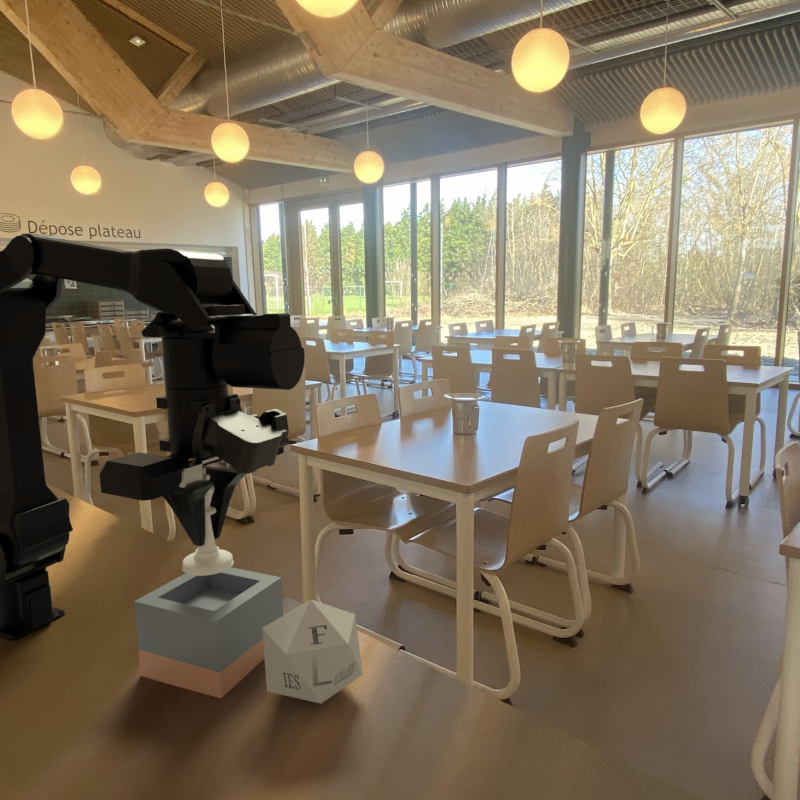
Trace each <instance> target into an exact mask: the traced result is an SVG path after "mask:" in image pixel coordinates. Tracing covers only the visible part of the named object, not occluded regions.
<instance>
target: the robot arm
mask: <svg viewBox="0 0 800 800" xmlns="http://www.w3.org/2000/svg"><path fill="white" fill-rule="evenodd" d="M30 275H35V276H34V277H33V278H32V279H29V278H28V277H29V276H30ZM63 280H67V281H72V282H77V283H83V284H88V285H92V286H98V287H103V288H107V289H108V288H109V289H112V290H113V289H114V290H117V291H122V292H123V293H127V294H129V295H130V296H131V297H133V299H135V300H136V302H138V303H140V304H143V305H145V306H148V307H150V308H152V309H154V310H156V311H159V312H157V313H156V315H155V317H154V319H152V321H150V322H149V323H148V324H147V325H146V326H145V327H144V328H143V329H142V330H141V336H142V337H143V338H157V339H158V338H161V348H162V349H161V351H162V362H163V363H162V366H163V375H164V376H163V377H164V378H163V379H164V394H165V395H163V396H162V395H161V396H157V397H156V398H155V400H156V409H161V410H162V409H163V410H166V419H167V421H166V422H167V435H168V437H166V438H163V439H160V440H159V451H160V452H161V451H162V452H168V453H170V455H167V456H166V455H160V454H159V455H158V454H151V453H146V452H145V453H144V452H138V451H137V452H135V453H131V454H127V455H124V456H120V457H115V458H112V459H109V460H106V461H105V463H104V464H103V466H102V467H101V468H100V471H99V482H100V493H102V494H106V495H112V496H115V497H116V496H117V497H122V498H127V499H132V500H136V501H137V500H138V501H141V502H143V501H153V500H155V499H159V498H161V497H162V498H163V499H164V500H165V502H166V503H167V504H168V505H169V507H170V509H171V510H172V511H173V513H174V514H175V516H176V518H177V519H178V521H179V523H180V525H181V526H182V527H183V529H184V531H185V532H186V534H187V536H188V537H189V539H190V541H191V542H192V544H193V545H194V546H197V547H198V546H203V545H204V542H205V495H206V493H207V492H208V490H209V489H210V488H211V486H212V485H213V486H214V492H213V495H212V499H211V503H210V506H211V507H215V509H216V512H215V513H214V514H212V515H210V518H211V524H212V530H213V535H214V540H217V539H219V538H220V537H221V534H222V531H223V528H224V523H225V520H226V516H227V513H228V510H229V505H230V502H231V499H232V497H233V493H234V490H235V487H236V486H237V484H238V483H239V482H240V481H241V480H242V479H243V478H245V476H247V474H248V475H249V474H254V473H255V472H256V471H257V470H259V469H261V468H264V467H271V466H274V465H275V463H276V458H277V456H280V455H282V454H285V446H288V445H289V443H290V439H289V433H290V432H289V430H290V429H289V422H288V416H287V413H286V412H283V411H282V410H280V409H278V408H274V409H269V410H265V411H263V412H262V413H261V415H260V416H259V414H256V413H254V414H247V413H245V412H243V410H242V405H241V404H242V403H241V399H240V398H239V394H238V393H229V386H230V387H231V388H244V389H262V390H263V389H265V390H279V391H281V390H283V391H284V390H285V391H290V390H293V388H295V387H296V386H297V385H298V383H299V381H300V380H301V379H302V375H303V372H304V367H305V348H304V347H303V346H302V342H301V339H300V337H299V334H298V332H297V331H296V329H295V328H293V327H292V326H291V323H292V322H291V315H290V313H287V312H283V313H282V312H277V313H274V312H273V313H264V314H261V315H260V314H257V312H256V311H255V310H254V309H253V307H252V305H251V304H250V302H249V301H248V299H247V298H246V297H245V295H244V293H243V292H242V291H241V290H240V288H239V286H238V285H237V283H236V281H235V280H234V279H233V274H232V272H231V269H230V267H229V265H228V264H227V262H226V259H225V258H224V257H223V256H221V255H220V254H218V253H215V252H213V251H212V252H211V251H201V250H192V249H191V250H189V249H177V248H176V249H175V248H154V249H139V250H135V251H134V250H133V251H132V250H126V249H121V248H115V247H109V246H104V245H103V246H102V245H97V244H92V243H91V244H90V243H85V242H80V241H79V242H78V241H74V240H73V241H72V240H68V239H65V238H63V237H61V236H58V235H50V234H37V233H22V234H20V235H15V236H14V237H13V238H12V239H11V240H10V241H9V242H8V244H7V245H6V246H5V247H4V248H3V249H2V250H0V636H1V637H4V638H7V639H9V640H12V641H13V640H16V639H19V638H22V637H23V636H27V635H28V634H30V633H32V632H34V631H36V630H38V629H41V628H42V627H45V626H47V625H48V624H51V623H52V622H54V621H56V620H58V619H60V618H62V617H63V616H65V615H66V611H65V610H64V609H61V608H58V607H55V606H53V598H52V597H53V596H52V590H51V589H52V587H51V585H50V579H49V578H50V576H49V571H48V569H47V568H48V567H51V566H53V565H55V564H57V563H61V562H63V561H64V557H65V552H66V548H67V545H68V543H69V541H70V532H72V531H74V528H73V526H72V523H71V520H70V519H71V518H70V502H69V501H68V499H67V498H65V497H61V498H59V497H58V496H57V494H55V493H54V492H53V491H52V489H51V488H50V487H49V486H48V485H47V479H46V472H45V471H46V470H45V464H44V461H45V460H44V451H43V441H42V435H41V424H40V416H39V405H38V395H37V386H36V378H35V377H36V376H35V370H34V369H35V368H34V357H35V355H36V354H37V351H39V350H38V349H39V347H40V346H41V344H42V341H43V340H44V337H46V331H47V330H46V329H47V322H46V321H47V311H49V309H50V308H51V307H52V306H53V305H54V304H55V303H56V302H57V300H59V299H60V298H61V297H62V296H61V294H62V287H63ZM213 327H214V328H213ZM190 459H191V460H190ZM202 467H204V468H206V474H207V475H210V480H203V472H202Z"/></svg>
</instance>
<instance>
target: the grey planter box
mask: <svg viewBox="0 0 800 800" xmlns="http://www.w3.org/2000/svg"><path fill="white" fill-rule="evenodd" d="M282 589H283V588H282V577H280V576H277V575H271V574H266V573H261V572H257V571H252V570H246V569H242V568H237V567H233V566H232V567H230V568H229V569H228V570H226V571H223V572H221V573H217V574H213V575H207V576H194V575H189V574H186V573H185V572H184V574H182V575H180V576H178V577H176V578H174V579H172V580H171V581H169V582H167V583H165V584H163V585H162V586H159V587H158V588H156V589H154V590H152V591H151V592H148V593H147V594H145V595H144V596H143V595H142V597H140V598H137V599H135V600H134V613H135V623H136V634H137V647H138V656H139V657H138V659H139V669H140V676H141V677H144V678H147V679H150V680H153V681H157V682H161V683H165V684H167V685H171V686H174V687H179V688H183V689H185V690H189V691H192V692H193V691H194V692H197V693H199V694H204V695H207V696H210V697H211V696H212V697H215V698H218V699H222V698H223V697H224V696H225V695H226V694H228V693H229V692H230V691H231V690H232V689H233V688H234V687H235V686H236V685H237V684H239V683H240V682H241V681H242V680H243V679H244V678H245V677H246V676H247V675H248V674H249V673H251V671H253V670H254V669H255V668H256V667H257V666H258V665H259V664H260V663H261V662H262V661H264V660H265V658H264V644H263V631H262V628H263V627H265V626H266V625H268V624H270V623H271V622H273V621H275V620H277V619H278V618H280V617H282V616H283V615H284V605H283V590H282Z"/></svg>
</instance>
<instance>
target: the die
mask: <svg viewBox="0 0 800 800" xmlns="http://www.w3.org/2000/svg"><path fill="white" fill-rule="evenodd" d="M357 627H358V626H357V618H356V614H355V613H352V612H351V611H346V610H343V609H341V608H337V607H334V606H332V605H329V604H326V603H323V602H320V601H317V600H313V599H309V600H307V601H305V602H304V603H302V604H300V605H298V606H297V607H295V608H294V609H292V610H290V611H288V612H287V613H285V614H283V616H282V617H280V618H278V619H277V620H275V621H273V622H271V623H270V624H268V625H266V626H265V627H263V628H262V631H263V644H264V658H265V659H264V667H265V668H264V671H265V682H266V683H265V684H266V692H268V693H272V694H277V695H278V694H279V695H282V696H286V697H291V698H293V699H294V698H295V699H298V700H299V699H300V700H304V701H309V702H312V703H316V704H320V705H321V704H323V703H325V701H327V700H328V699H330V698H331V697H333V696H334V695H335V694H337V693H338V692H340V691H342V690H343V689H345V687H347V686H349V685H350V684H352V683H353V682H355V680H357V679H358V678H361V676H363V675H364V674H363V667H362V658H361V649H360V643H359V635H358V628H357Z"/></svg>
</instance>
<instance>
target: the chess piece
mask: <svg viewBox="0 0 800 800" xmlns="http://www.w3.org/2000/svg"><path fill="white" fill-rule="evenodd" d="M202 472H203V480H210V475H207V474H206V468H204V467H202ZM213 492H214V486H213V485H212V486H211V488H210V489H209V490H208V492H207V493H206V495H205V542H204V545H203V546H197V548H196V549H195V552H192V553H190V554H188V555H187V556H185V558H183V560H182V566H181V570H182V571H183V573H184V574H185V573H186V574H189V575H194V576H207V575H213V574H217V573H221V572H223V571H226V570H228V569H229V568H230V567H233V565H234V563H235V561H234V557H233V554H232V553H231V552H230V551H228V550H224V549H220V547H219V546H218V545H216V541H215V540H216V539H214V535H213V530H212V524H211V518H210V515H212V514H214V513H215V512H216V509H215V507H211V506H210V503H211V499H212V495H213Z"/></svg>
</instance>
